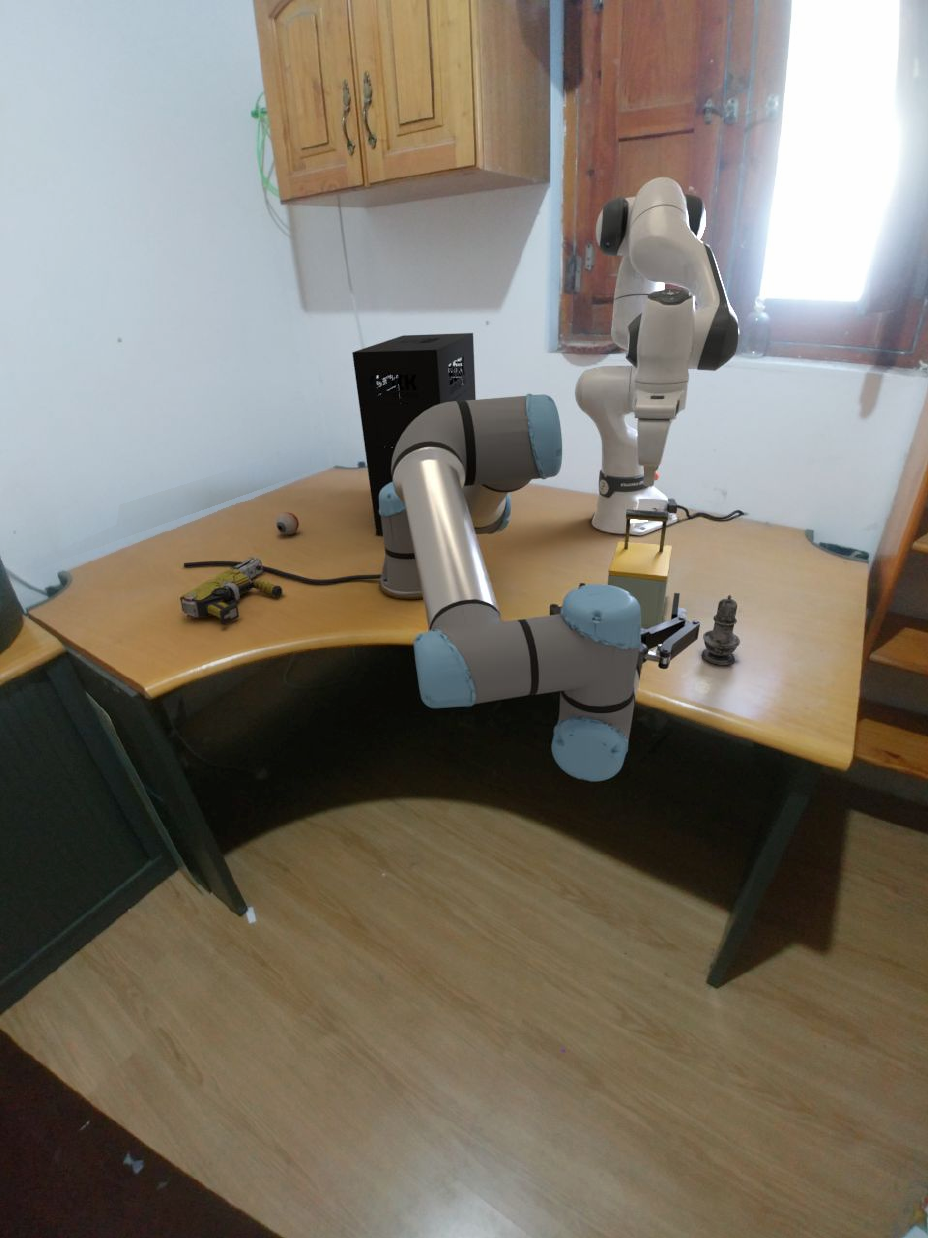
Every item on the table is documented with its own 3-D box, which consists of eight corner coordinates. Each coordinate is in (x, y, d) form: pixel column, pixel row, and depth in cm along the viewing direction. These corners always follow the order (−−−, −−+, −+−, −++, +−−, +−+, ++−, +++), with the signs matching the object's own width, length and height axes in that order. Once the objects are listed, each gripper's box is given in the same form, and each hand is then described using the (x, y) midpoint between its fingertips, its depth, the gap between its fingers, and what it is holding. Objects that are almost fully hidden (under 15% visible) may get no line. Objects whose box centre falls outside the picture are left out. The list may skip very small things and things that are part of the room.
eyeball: (273, 537, 164) (268, 516, 161) (287, 528, 169) (282, 508, 166) (291, 539, 161) (286, 518, 158) (305, 530, 166) (301, 510, 163)
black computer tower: (449, 537, 157) (436, 349, 134) (376, 534, 161) (352, 352, 139) (479, 491, 188) (473, 332, 166) (417, 489, 193) (403, 335, 170)
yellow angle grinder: (303, 565, 139) (248, 554, 143) (236, 611, 119) (174, 596, 122) (305, 584, 141) (250, 572, 145) (239, 632, 121) (178, 617, 125)
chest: (614, 592, 127) (617, 547, 122) (665, 597, 123) (671, 551, 118) (604, 623, 116) (608, 575, 111) (660, 630, 113) (666, 581, 107)
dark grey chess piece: (739, 667, 101) (752, 604, 95) (702, 664, 102) (713, 602, 96) (733, 648, 106) (745, 587, 100) (697, 646, 107) (708, 585, 101)
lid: (618, 545, 122) (621, 503, 118) (671, 550, 119) (677, 506, 114) (608, 575, 111) (611, 529, 106) (666, 581, 107) (672, 534, 103)
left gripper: (508, 683, 79) (545, 608, 96) (713, 717, 71) (713, 628, 88) (507, 634, 75) (546, 565, 92) (723, 664, 67) (721, 582, 84)
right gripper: (646, 386, 113) (639, 460, 119) (633, 409, 96) (626, 493, 103) (681, 387, 111) (672, 462, 117) (675, 410, 94) (665, 495, 101)
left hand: (628, 595), depth 90 cm, fingers open, 13 cm apart
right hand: (650, 477), depth 110 cm, fingers open, 8 cm apart
